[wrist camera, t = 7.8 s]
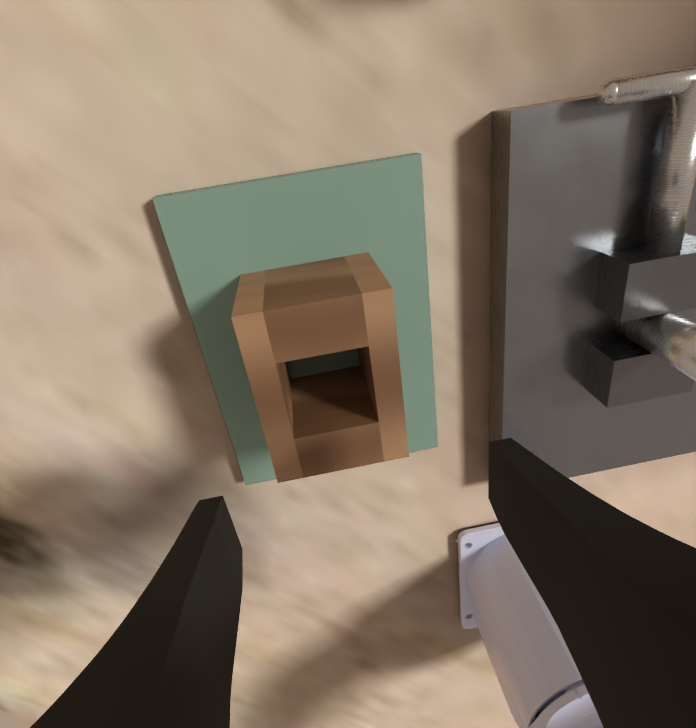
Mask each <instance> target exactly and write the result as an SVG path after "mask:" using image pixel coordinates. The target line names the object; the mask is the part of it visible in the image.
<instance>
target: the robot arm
mask: <svg viewBox="0 0 696 728" xmlns="http://www.w3.org/2000/svg"><path fill="white" fill-rule="evenodd" d="M488 498H489V500H490V502H491V505H492V507H493V510H494V512H495V514H496V517H497V519H498V521H499V523H495V524H491V525H486V526H481V527H476V528H472V529H467V530H463V531H462V532H460V533H459V535H458V559H459V588H460V616H461V624H462V627H463V628H464V629H467V630H468V629H473V628H478V630H479V632H480V635H481V637H482V640H483V642H484V645H485V647H486V650H487V653H488V655H489V658H490V660H491V663H492V665H493V668H494V670H495V673H496V675H497V678H498V681H499V683H500V686H501V688H502V691H503V693H504V696H505V698H506V701H507V703H508V706H509V708H510V711H511V713H512V715H513V717H514V719H515V721H516V723H517V725H518V726H519V728H696V548H694V547H692V546H690V545H687V544H685V543H683V542H681V541H678V540H676V539H674V538H672V537H670V536H668V535H666V534H664V533H662V532H660V531H658V530H656V529H654V528H652V527H650V526H648V525H646V524H644V523H642V522H640V521H638V520H636V519H634V518H633V517H631V516H629V515H627V514H625V513H624V512H622V511H620V510H618V509H616V508H615V507H613V506H611V505H610V504H608V503H606V502H605V501H603V500H601V499H600V498H598V497H596V496H595V495H593V494H592V493H590V492H588V491H587V490H585V489H584V488H582V487H581V486H579V485H578V484H576V483H575V482H573V481H572V480H570V479H569V478H567V477H566V476H564V475H563V474H561V473H560V472H558V471H557V470H555V469H554V468H553V467H551V466H550V465H548V464H547V463H545V462H544V461H543V460H541V459H540V458H538V457H537V456H536V455H534V454H533V453H532V452H530V451H529V450H527V449H526V448H525V447H523V446H522V445H520V444H519V443H518V442H516V441H515V440H513V439H512V438H506V439H501V440H496V441H491V442H489V497H488ZM241 596H242V547H241V544H240V541H239V539H238V536H237V533H236V531H235V528H234V525H233V522H232V520H231V517H230V514H229V511H228V509H227V506H226V503H225V501H224V498H223V496H219V497H214V498H209V499H204V500H199V502H198V503H197V505H196V506H195V508H194V510H193V512H192V513H191V515H190V517H189V519H188V520H187V522H186V524H185V526H184V527H183V529H182V531H181V533H180V534H179V536H178V538H177V540H176V541H175V543H174V545H173V546H172V548H171V550H170V551H169V553H168V555H167V556H166V558H165V559H164V561H163V563H162V564H161V566H160V568H159V569H158V571H157V572H156V574H155V575H154V577H153V579H152V580H151V582H150V583H149V584H148V586H147V587H146V589H145V590H144V592H143V593H142V595H141V596H140V598H139V599H138V601H137V602H136V604H135V605H134V607H133V608H132V609H131V611H130V612H129V614H128V615H127V616H126V618H125V619H124V620H123V622H122V623H121V624H120V626H119V627H118V628H117V630H116V631H115V632H114V634H113V635H112V636H111V637H110V639H109V640H108V641H107V642H106V644H105V645H104V646H103V648H102V649H101V650H100V651H99V652H98V654H97V655H96V656H95V657H94V658H93V660H92V661H91V662H90V663H89V664H88V665H87V667H86V668H85V669H84V670H83V671H82V672H81V673H80V675H79V676H78V677H77V678H76V679H75V680H74V681H73V683H72V684H71V685H70V686H69V687H68V688H67V689H66V690H65V692H64V693H63V694H62V695H61V696H60V697H59V698H58V699H57V700H56V701H55V702H54V704H53V705H52V706H51V707H50V708H49V709H48V710H47V711H46V712H45V713H44V714H43V715H42V716H41V717H40V718H39V719H38V720H37V721H36V722H35V723H34V724H33V725H32V726H31V727H30V728H229V727H230V696H231V683H232V673H233V665H234V656H235V648H236V639H237V631H238V622H239V614H240V605H241Z"/></svg>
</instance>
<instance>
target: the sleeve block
mask: <svg viewBox="0 0 696 728" xmlns="http://www.w3.org/2000/svg"><path fill="white" fill-rule="evenodd" d="M231 319H232V322H233V326H234V329H235V333H236V336H237V340H238V344H239V347H240V351H241V354H242V358H243V361H244V365H245V368H246V372H247V375H248V379H249V382H250V386H251V390H252V393H253V397H254V400H255V404H256V407H257V411H258V414H259V418H260V421H261V425H262V428H263V432H264V435H265V439H266V443H267V446H268V450H269V453H270V457H271V460H272V464H273V467H274V471H275V474H276V478H277V481H278V483H279V482H284V481H289V480H294V479H299V478H304V477H309V476H314V475H319V474H324V473H329V472H334V471H339V470H344V469H349V468H354V467H359V466H364V465H369V464H374V463H379V462H384V461H389V460H394V459H399V458H404V457H409V451H408V441H407V431H406V420H405V410H404V400H403V390H402V380H401V369H400V359H399V349H398V339H397V328H396V318H395V308H394V298H393V288H392V286H391V285H390V283H389V282H388V280H387V279H386V278H385V276H384V275H383V273H382V272H381V270H380V269H379V267H378V266H377V264H376V263H375V261H374V260H373V258H372V257H371V255H370V254H369V252H366V253H360V254H354V255H349V256H343V257H337V258H332V259H326V260H320V261H315V262H309V263H303V264H298V265H292V266H286V267H281V268H275V269H269V270H264V271H258V272H252V273H247V274H241V275H240V279H239V284H238V288H237V293H236V297H235V302H234V306H233V311H232V315H231ZM356 348H357V349H358V356H359V362H360V366H355V367H350V368H345V369H339V370H334V371H329V372H323V373H318V374H313V375H308V376H302V377H297V378H292V379H291V378H290V374H289V370H288V365H287V361H292V360H298V359H303V358H308V357H314V356H319V355H324V354H330V353H335V352H340V351H346V350H351V349H356Z"/></svg>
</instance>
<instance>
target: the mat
mask: <svg viewBox="0 0 696 728" xmlns="http://www.w3.org/2000/svg"><path fill="white" fill-rule="evenodd" d="M152 200H153V203H154V206H155V209H156V212H157V215H158V218H159V221H160V224H161V227H162V230H163V234H164V237H165V240H166V243H167V246H168V249H169V252H170V255H171V258H172V261H173V264H174V267H175V270H176V273H177V276H178V279H179V283H180V286H181V289H182V292H183V295H184V298H185V301H186V304H187V307H188V310H189V313H190V316H191V319H192V322H193V325H194V328H195V332H196V335H197V338H198V341H199V344H200V347H201V350H202V353H203V356H204V359H205V362H206V365H207V368H208V371H209V374H210V377H211V380H212V384H213V387H214V390H215V393H216V396H217V399H218V402H219V405H220V408H221V411H222V414H223V417H224V420H225V423H226V426H227V429H228V433H229V436H230V439H231V442H232V445H233V448H234V451H235V454H236V457H237V460H238V463H239V466H240V469H241V472H242V475H243V478H244V482H245V485H249V484H254V483H259V482H264V481H269V480H274V479H277V478H276V474H275V471H274V467H273V464H272V460H271V457H270V453H269V450H268V446H267V443H266V439H265V435H264V432H263V428H262V425H261V421H260V418H259V414H258V411H257V407H256V404H255V400H254V397H253V393H252V390H251V386H250V382H249V379H248V375H247V372H246V368H245V365H244V361H243V358H242V354H241V351H240V347H239V344H238V340H237V336H236V333H235V329H234V326H233V322H232V319H231V315H232V311H233V306H234V302H235V297H236V293H237V288H238V284H239V279H240V275H241V274H247V273H252V272H258V271H264V270H269V269H275V268H281V267H286V266H292V265H298V264H303V263H309V262H315V261H320V260H326V259H332V258H337V257H343V256H349V255H354V254H360V253H366V252H369V254H370V255H371V257H372V258H373V260H374V261H375V263H376V264H377V266H378V267H379V269H380V270H381V272H382V273H383V275H384V276H385V278H386V279H387V280H388V282H389V283H390V285H391V286H392V288H393V298H394V308H395V318H396V328H397V339H398V349H399V359H400V369H401V380H402V390H403V400H404V410H405V420H406V431H407V441H408V451H409V453H410V452H415V451H420V450H425V449H430V448H435V447H438V442H437V424H436V407H435V389H434V372H433V354H432V337H431V319H430V302H429V284H428V267H427V249H426V232H425V214H424V197H423V179H422V161H421V154H420V153H412V154H406V155H400V156H394V157H388V158H382V159H376V160H370V161H363V162H357V163H351V164H345V165H339V166H333V167H327V168H321V169H315V170H309V171H303V172H297V173H291V174H285V175H279V176H273V177H267V178H260V179H254V180H248V181H242V182H236V183H230V184H224V185H218V186H212V187H206V188H200V189H194V190H188V191H182V192H176V193H170V194H163V195H157V196H155V197H153V198H152ZM287 365H288V370H289V374H290V378H291V379H292V378H297V377H302V376H308V375H313V374H318V373H323V372H329V371H334V370H339V369H345V368H350V367H355V366H360V362H359V356H358V349H357V348H356V349H351V350H346V351H340V352H335V353H330V354H324V355H319V356H314V357H308V358H303V359H298V360H292V361H287Z"/></svg>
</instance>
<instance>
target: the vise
mask: <svg viewBox="0 0 696 728" xmlns="http://www.w3.org/2000/svg"><path fill="white" fill-rule="evenodd" d="M506 438H512V439H513V440H515V441H516V442H518V443H519V444H520V445H522V446H523V447H525V448H526V449H527V450H529V451H530V452H532V453H533V454H534V455H536V456H537V457H538V458H540V459H541V460H543V461H544V462H545V463H547V464H548V465H550V466H551V467H553V468H554V469H555V470H557V471H558V472H560V473H561V474H563V475H564V476H566V477H567V478H569V477H574V476H579V475H584V474H588V473H593V472H598V471H603V470H608V469H613V468H618V467H622V466H627V465H632V464H637V463H642V462H647V461H651V460H656V459H661V458H666V457H671V456H676V455H681V454H685V453H690V452H695V451H696V66H691V67H685V68H679V69H673V70H666V71H660V72H654V73H648V74H641V75H635V76H629V77H623V78H616V79H611V80H607V81H606V82H604V83H603V84H602V85H601V86H600V87H599V89H598V91H597V94H596V95H590V96H583V97H577V98H571V99H565V100H559V101H553V102H546V103H540V104H534V105H528V106H522V107H515V108H509V109H503V110H497V111H493V113H492V209H491V305H490V401H489V442H491V441H496V440H501V439H506Z"/></svg>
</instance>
